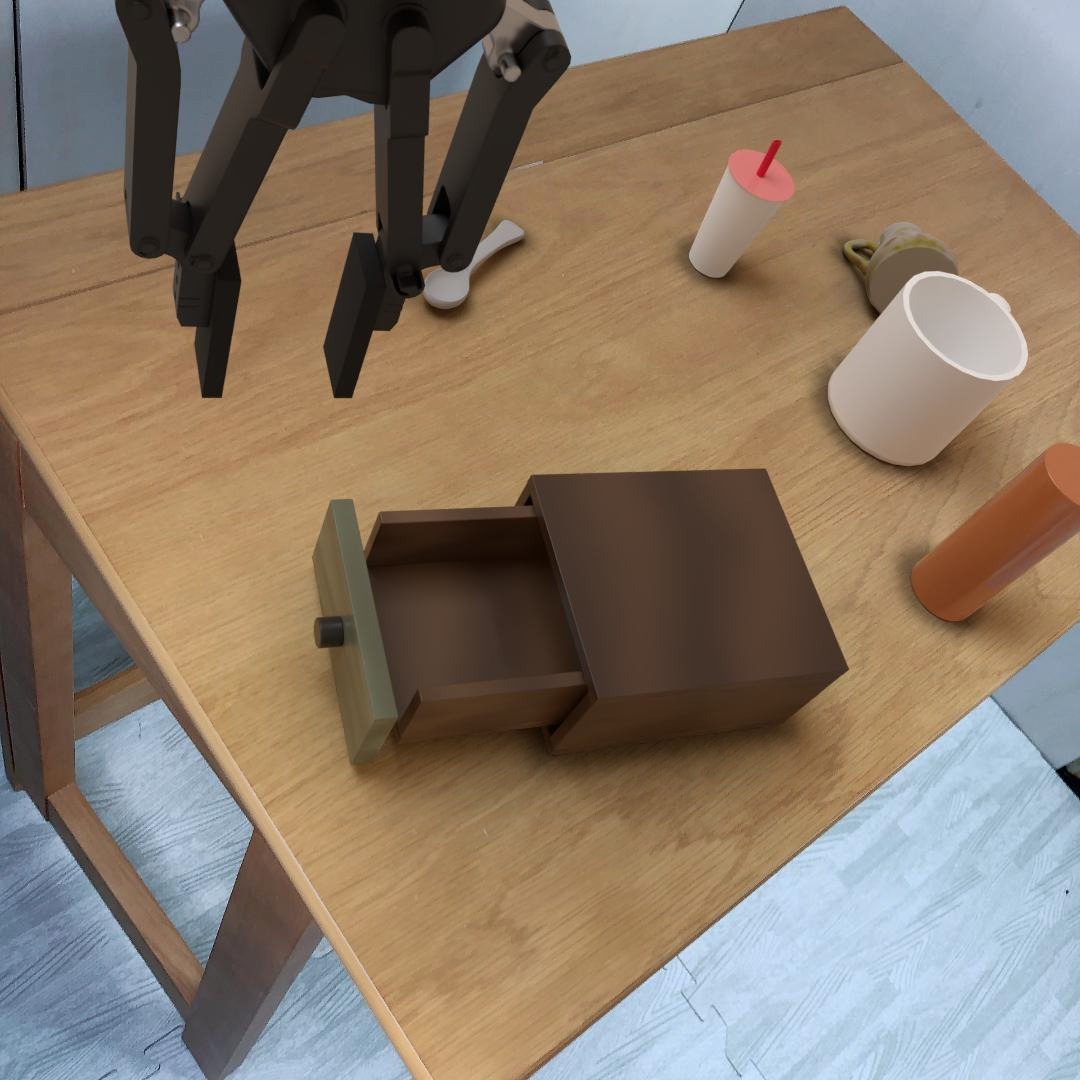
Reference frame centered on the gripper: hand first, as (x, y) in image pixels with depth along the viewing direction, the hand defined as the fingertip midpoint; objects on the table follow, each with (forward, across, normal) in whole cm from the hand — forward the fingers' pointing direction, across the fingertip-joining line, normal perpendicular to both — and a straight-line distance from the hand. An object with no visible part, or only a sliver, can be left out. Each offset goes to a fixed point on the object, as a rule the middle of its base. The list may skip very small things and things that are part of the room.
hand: (274, 370), depth 47 cm
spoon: (+20, +20, +26) cm, 38 cm away
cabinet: (+20, +24, -4) cm, 31 cm away
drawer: (+19, +12, -4) cm, 22 cm away
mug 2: (+20, +52, +13) cm, 57 cm away
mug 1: (+20, +58, +26) cm, 66 cm away
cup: (+20, +41, +28) cm, 53 cm away
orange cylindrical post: (+20, +49, -3) cm, 53 cm away
